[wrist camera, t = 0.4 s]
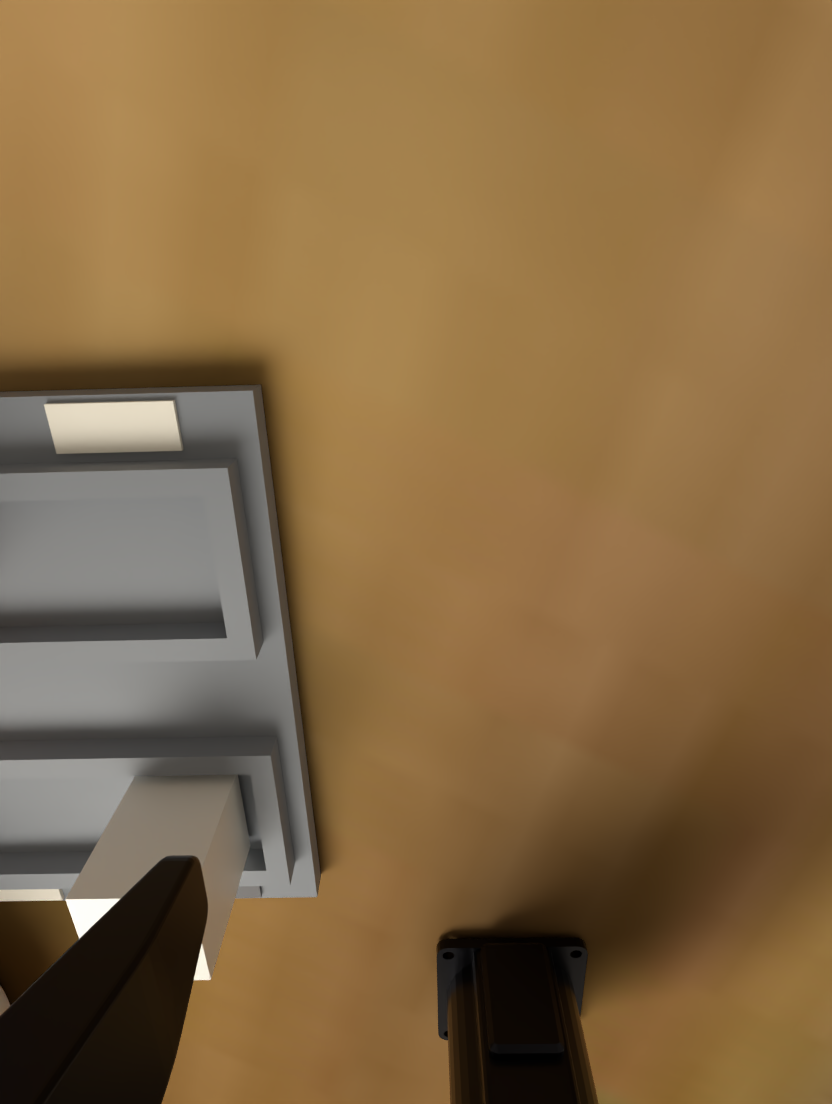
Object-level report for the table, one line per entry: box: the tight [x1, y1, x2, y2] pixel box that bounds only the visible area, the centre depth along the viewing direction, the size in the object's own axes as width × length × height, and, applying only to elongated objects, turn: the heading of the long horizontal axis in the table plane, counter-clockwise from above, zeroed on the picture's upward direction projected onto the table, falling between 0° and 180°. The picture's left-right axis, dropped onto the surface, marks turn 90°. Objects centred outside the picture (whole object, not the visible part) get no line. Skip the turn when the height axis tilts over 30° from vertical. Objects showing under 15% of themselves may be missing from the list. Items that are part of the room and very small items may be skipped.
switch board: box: [0, 385, 321, 901], centre depth 22 cm, size 20×16×2 cm
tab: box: [65, 775, 250, 980], centre depth 21 cm, size 4×4×6 cm
